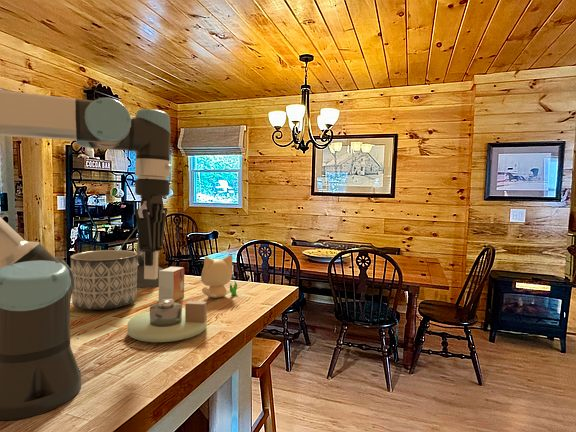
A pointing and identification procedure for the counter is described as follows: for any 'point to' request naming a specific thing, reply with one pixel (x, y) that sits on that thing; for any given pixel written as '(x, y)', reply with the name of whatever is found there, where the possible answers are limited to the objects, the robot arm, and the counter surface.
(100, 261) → the planter
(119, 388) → the counter surface
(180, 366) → the counter surface
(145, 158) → the robot arm
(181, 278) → the small box
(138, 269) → the lantern
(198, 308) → the turntable
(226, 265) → the kitten
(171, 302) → the cover
